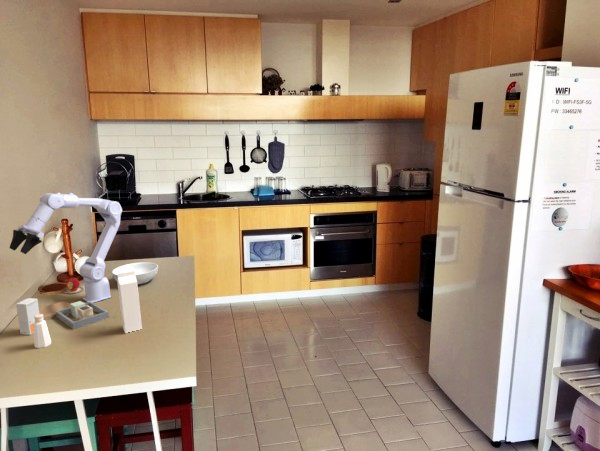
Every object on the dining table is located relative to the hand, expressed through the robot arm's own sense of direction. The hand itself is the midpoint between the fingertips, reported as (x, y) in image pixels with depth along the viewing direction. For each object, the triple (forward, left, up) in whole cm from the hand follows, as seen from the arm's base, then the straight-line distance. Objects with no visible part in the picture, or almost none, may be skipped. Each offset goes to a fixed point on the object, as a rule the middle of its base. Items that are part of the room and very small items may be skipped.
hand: (17, 251), depth 178 cm
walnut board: (-10, -3, -29) cm, 30 cm away
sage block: (-16, +9, -29) cm, 34 cm away
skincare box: (+2, +10, -29) cm, 31 cm away
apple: (-26, -22, -29) cm, 45 cm away
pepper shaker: (+3, +25, -29) cm, 38 cm away
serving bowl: (-51, -11, -29) cm, 60 cm away
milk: (-24, +37, -29) cm, 53 cm away
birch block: (-16, +16, -29) cm, 36 cm away
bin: (-16, +12, -29) cm, 35 cm away
